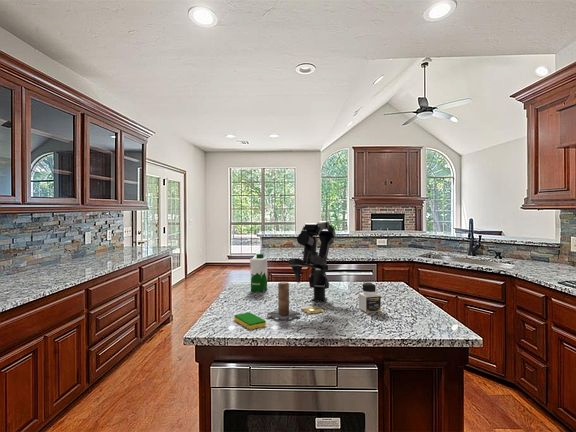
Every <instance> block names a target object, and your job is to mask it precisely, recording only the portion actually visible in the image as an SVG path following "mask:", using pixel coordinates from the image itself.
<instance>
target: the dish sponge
mask: <svg viewBox="0 0 576 432" xmlns="http://www.w3.org/2000/svg"><path fill="white" fill-rule="evenodd" d="M233 320H234V321H235V322H236V323H239V324H240V325H242V326H243V327H245V328H246V329H248V330H255V329H257V328H258V329H259V328H263V327H266V325H267V323H266V322H267V321H266V320H265V319H263V318H261V317H260V316H258V315H256V314H254V313H252V312H251V311H249V312H244V313H239V314H235V315H234V319H233Z"/></svg>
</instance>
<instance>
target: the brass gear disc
mask: <svg viewBox="0 0 576 432" xmlns="http://www.w3.org/2000/svg"><path fill="white" fill-rule="evenodd" d="M301 311H303V312H304V313H305V314H307V315H311V314H313V315H315V314H316V315H317V314H320V313H321V314H322V313H324V312H325V310H324V309H322V308H321V307H319V306H317V305H314V306H306V307H301Z"/></svg>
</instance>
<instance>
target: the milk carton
mask: <svg viewBox="0 0 576 432" xmlns="http://www.w3.org/2000/svg"><path fill="white" fill-rule="evenodd" d="M249 263H250V291H251V292H256V291H261V292H260V293H264V292H265V291H266V290H268V257H265V256H264V253H256V256H255V257H252V258H250V259H249ZM264 290H265V291H264Z"/></svg>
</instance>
